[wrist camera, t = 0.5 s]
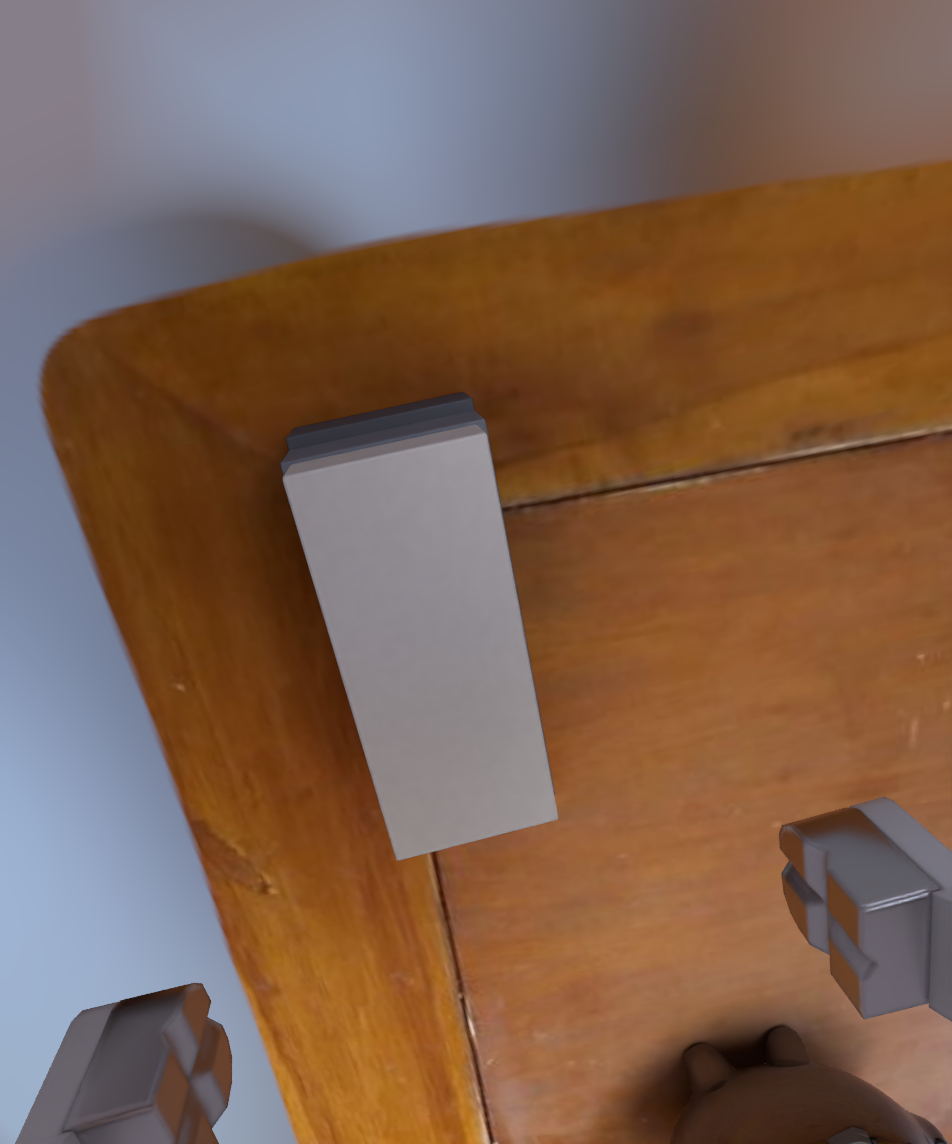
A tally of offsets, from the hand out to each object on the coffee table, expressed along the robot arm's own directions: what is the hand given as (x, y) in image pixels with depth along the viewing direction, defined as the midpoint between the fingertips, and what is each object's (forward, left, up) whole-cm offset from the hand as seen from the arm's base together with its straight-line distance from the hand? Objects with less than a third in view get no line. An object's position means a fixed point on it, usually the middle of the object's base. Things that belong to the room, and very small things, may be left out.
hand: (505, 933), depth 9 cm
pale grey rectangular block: (+2, 0, -13) cm, 13 cm away
